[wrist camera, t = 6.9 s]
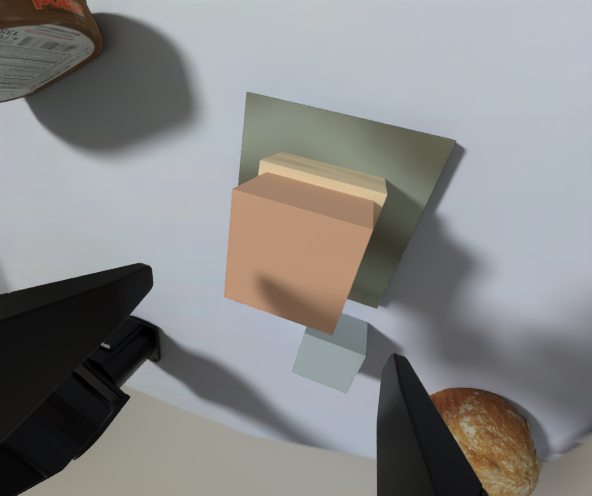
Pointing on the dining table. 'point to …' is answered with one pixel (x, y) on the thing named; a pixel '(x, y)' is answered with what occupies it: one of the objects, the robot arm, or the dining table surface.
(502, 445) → the bread roll
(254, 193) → the terracotta brick
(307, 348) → the gray brick
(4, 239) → the dining table surface
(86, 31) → the tin
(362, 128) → the build board
